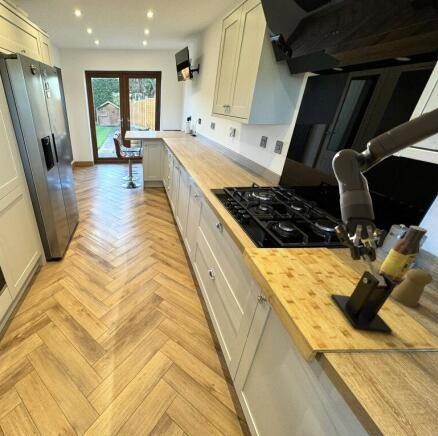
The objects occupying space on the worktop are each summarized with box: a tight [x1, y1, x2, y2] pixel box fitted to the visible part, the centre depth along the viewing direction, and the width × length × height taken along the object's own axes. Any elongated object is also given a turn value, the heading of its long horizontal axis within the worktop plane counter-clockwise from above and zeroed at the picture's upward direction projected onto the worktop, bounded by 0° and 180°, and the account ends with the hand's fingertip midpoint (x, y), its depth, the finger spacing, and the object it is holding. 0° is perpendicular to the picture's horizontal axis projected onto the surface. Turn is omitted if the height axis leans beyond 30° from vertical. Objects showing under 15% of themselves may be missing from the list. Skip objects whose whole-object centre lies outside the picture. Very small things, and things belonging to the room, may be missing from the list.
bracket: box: [330, 270, 398, 335], centre depth 66 cm, size 12×9×14 cm
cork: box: [390, 268, 434, 307], centre depth 73 cm, size 6×6×11 cm
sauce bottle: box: [378, 225, 428, 282], centre depth 82 cm, size 7×6×20 cm
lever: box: [358, 245, 387, 289], centre depth 67 cm, size 13×3×3 cm, turn 170°
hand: (364, 260), depth 69 cm, fingers closed on lever, 3 cm apart
